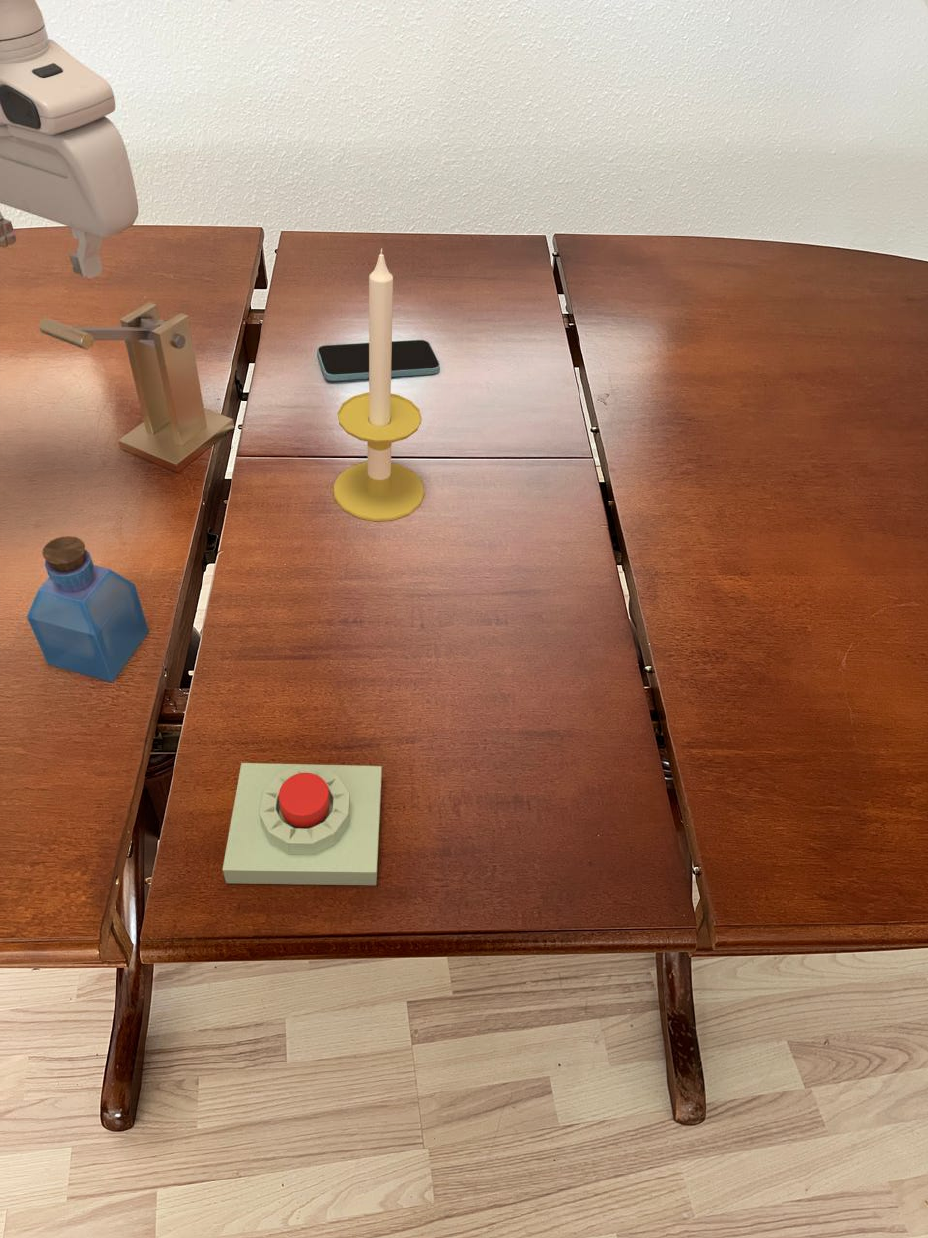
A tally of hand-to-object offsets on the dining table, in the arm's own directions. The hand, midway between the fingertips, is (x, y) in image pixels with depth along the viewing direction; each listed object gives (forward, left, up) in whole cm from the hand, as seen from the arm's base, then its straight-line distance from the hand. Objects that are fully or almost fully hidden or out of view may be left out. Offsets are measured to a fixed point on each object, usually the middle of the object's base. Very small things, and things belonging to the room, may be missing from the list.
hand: (45, 258), depth 72 cm
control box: (+40, -23, -25) cm, 52 cm away
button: (+40, -23, -21) cm, 51 cm away
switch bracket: (0, +11, -25) cm, 27 cm away
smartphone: (+11, +37, -25) cm, 46 cm away
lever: (0, +5, -11) cm, 12 cm away
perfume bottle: (+14, -17, -25) cm, 34 cm away
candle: (+24, +15, -25) cm, 38 cm away
